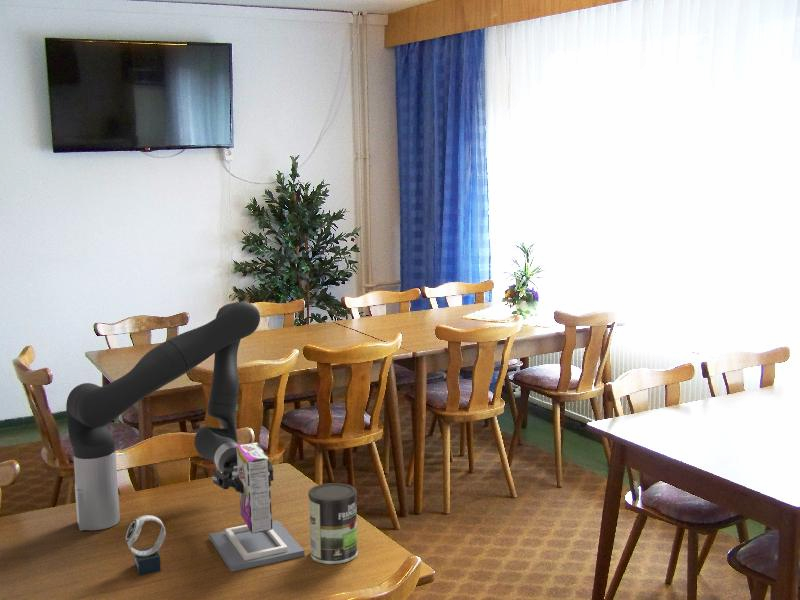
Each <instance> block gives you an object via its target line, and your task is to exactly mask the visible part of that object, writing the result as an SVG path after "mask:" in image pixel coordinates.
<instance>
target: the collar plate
mask: <svg viewBox="0 0 800 600" xmlns="http://www.w3.org/2000/svg"><path fill="white" fill-rule="evenodd" d="M209 540H210V542H211V543H212V545H213V546H214V548H215V549H216V552H217V553H218V554H219V556H220V557H221V559H222V560H223V562H224V563H225V565H226V567H227V568H228V570H229V571H230V573H233V572H238V571H242V570H246V569H251V568H255V567H260V566H265V565H268V564H273V563H279V562H282V561H286V560H287V561H288V560H291V559H296V558H301V557H304V556H305V550H304V548H303V547H302V546H301V545H300V544H299V542H298V541H297V540H296V539H295V538H294V537H293V535H291V533H290V531H289V532H288V530H287V529H286V528H285V527H284V526H283V525H282V523H281V522H280V521H279V520H278V519H277V520H272V530H268V531H263V532H259V533H251V531H250V530H249V528H248V526H247V524H244V525H238V526H233V527H229V528H228V527H227V528H225V529H224V530H223V531H222V530H220V531H217V532H212V533H209Z"/></svg>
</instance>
